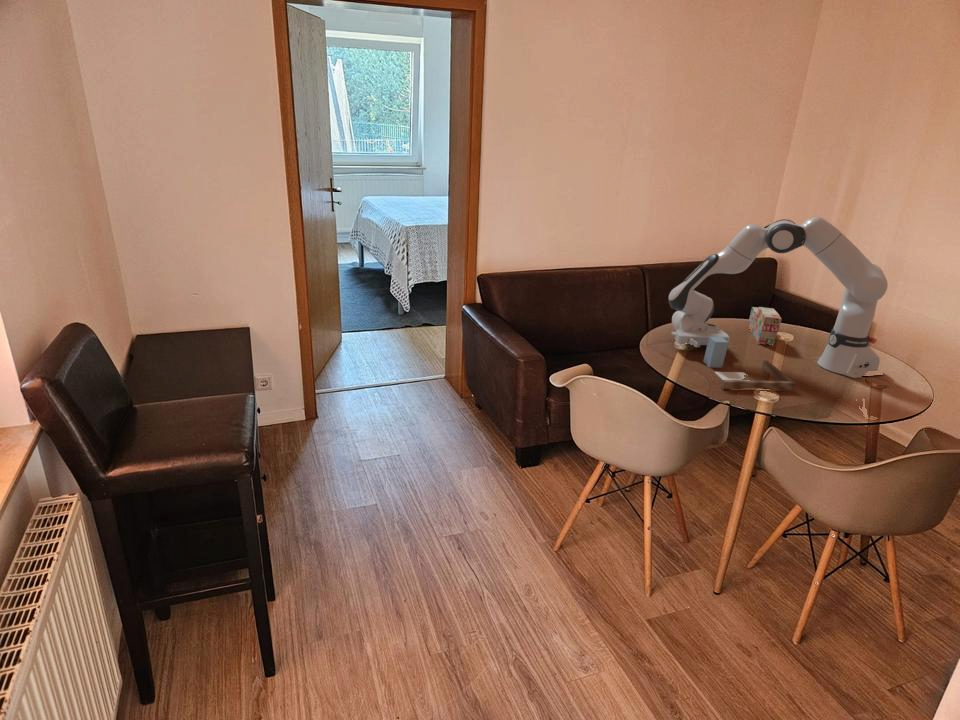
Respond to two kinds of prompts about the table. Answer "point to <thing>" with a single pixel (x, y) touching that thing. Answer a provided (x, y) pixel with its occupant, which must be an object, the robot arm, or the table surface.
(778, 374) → the walnut fence
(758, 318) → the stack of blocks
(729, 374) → the felt pad
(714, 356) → the slate-blue block
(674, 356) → the table surface
